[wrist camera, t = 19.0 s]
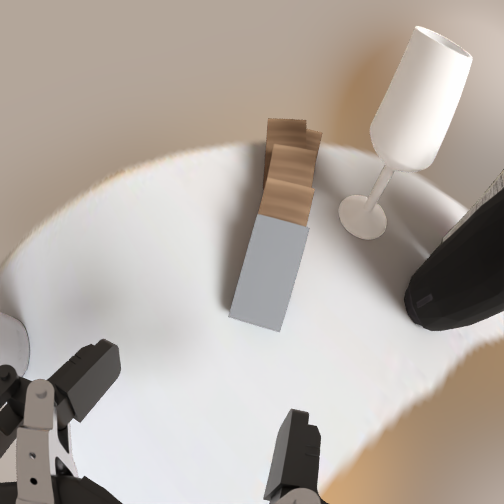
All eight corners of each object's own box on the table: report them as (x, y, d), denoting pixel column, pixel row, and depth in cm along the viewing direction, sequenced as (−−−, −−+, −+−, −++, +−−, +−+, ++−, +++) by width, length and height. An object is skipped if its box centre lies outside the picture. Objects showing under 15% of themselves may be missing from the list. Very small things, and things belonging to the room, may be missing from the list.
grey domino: (279, 332, 25) (309, 227, 25) (228, 316, 25) (257, 213, 26) (280, 327, 27) (307, 230, 27) (232, 313, 27) (259, 217, 28)
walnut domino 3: (291, 285, 27) (314, 188, 27) (242, 272, 28) (267, 177, 28) (290, 283, 29) (313, 193, 29) (245, 271, 30) (268, 183, 30)
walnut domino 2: (303, 236, 29) (317, 151, 29) (257, 227, 30) (274, 143, 30) (301, 238, 31) (315, 157, 31) (258, 229, 32) (274, 150, 32)
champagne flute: (375, 192, 34) (445, 34, 12) (394, 235, 31) (499, 76, 9) (331, 197, 34) (385, 13, 12) (348, 243, 31) (442, 51, 9)
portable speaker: (449, 267, 29) (548, 179, 11) (455, 338, 25) (581, 280, 7) (398, 261, 30) (497, 148, 12) (400, 339, 26) (543, 272, 8)
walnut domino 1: (305, 189, 31) (306, 120, 32) (263, 187, 32) (267, 118, 33) (304, 195, 33) (305, 128, 34) (264, 193, 34) (268, 126, 35)
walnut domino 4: (311, 179, 33) (322, 132, 38) (273, 169, 34) (290, 124, 38) (308, 188, 35) (320, 142, 39) (272, 179, 36) (289, 134, 40)
